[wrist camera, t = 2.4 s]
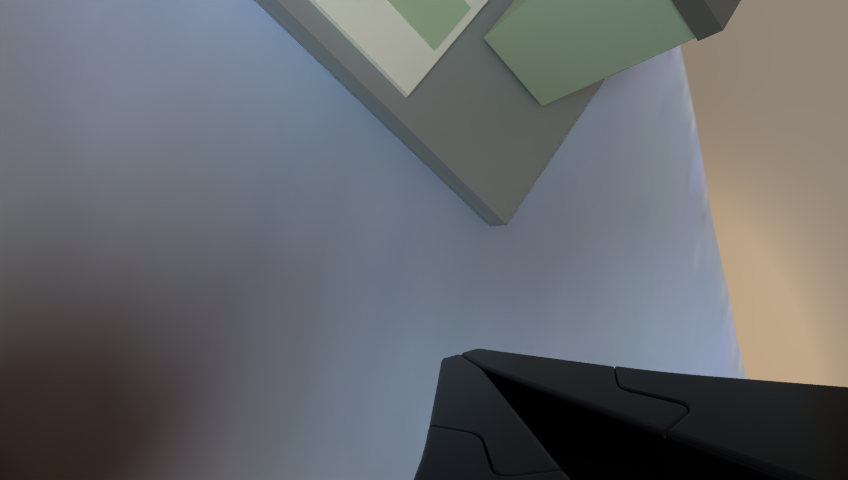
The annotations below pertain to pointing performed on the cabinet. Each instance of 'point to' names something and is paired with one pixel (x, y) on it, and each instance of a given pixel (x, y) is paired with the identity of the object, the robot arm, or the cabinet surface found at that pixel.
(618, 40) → the sage block
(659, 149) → the cabinet surface
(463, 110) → the switch board
